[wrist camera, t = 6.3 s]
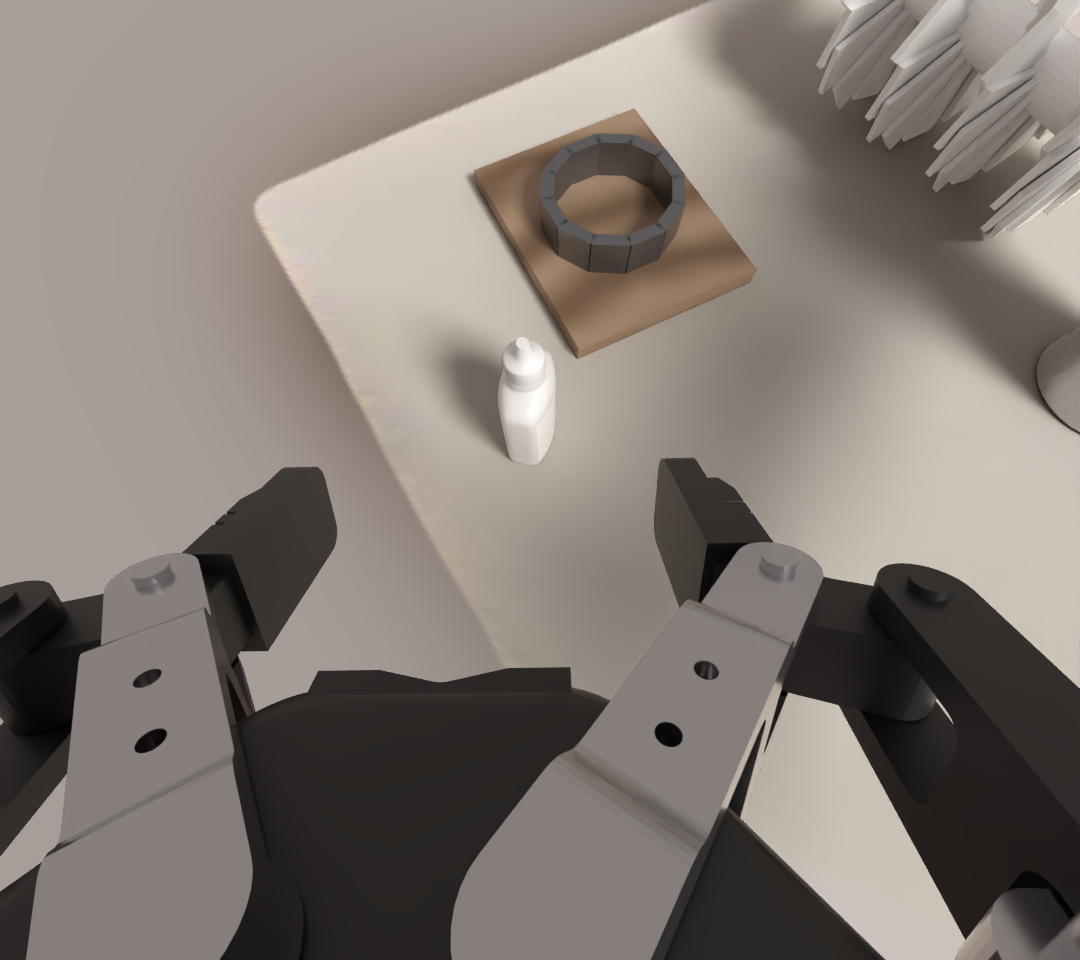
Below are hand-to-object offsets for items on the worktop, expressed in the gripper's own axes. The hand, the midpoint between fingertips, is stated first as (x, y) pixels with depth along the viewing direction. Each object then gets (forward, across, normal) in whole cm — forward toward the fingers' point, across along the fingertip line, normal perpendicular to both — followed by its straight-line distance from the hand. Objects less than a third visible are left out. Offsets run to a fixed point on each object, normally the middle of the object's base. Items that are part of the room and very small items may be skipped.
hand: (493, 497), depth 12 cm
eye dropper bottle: (+25, 0, -8) cm, 26 cm away
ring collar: (+37, +7, +6) cm, 38 cm away
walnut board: (+38, +7, +5) cm, 39 cm away
